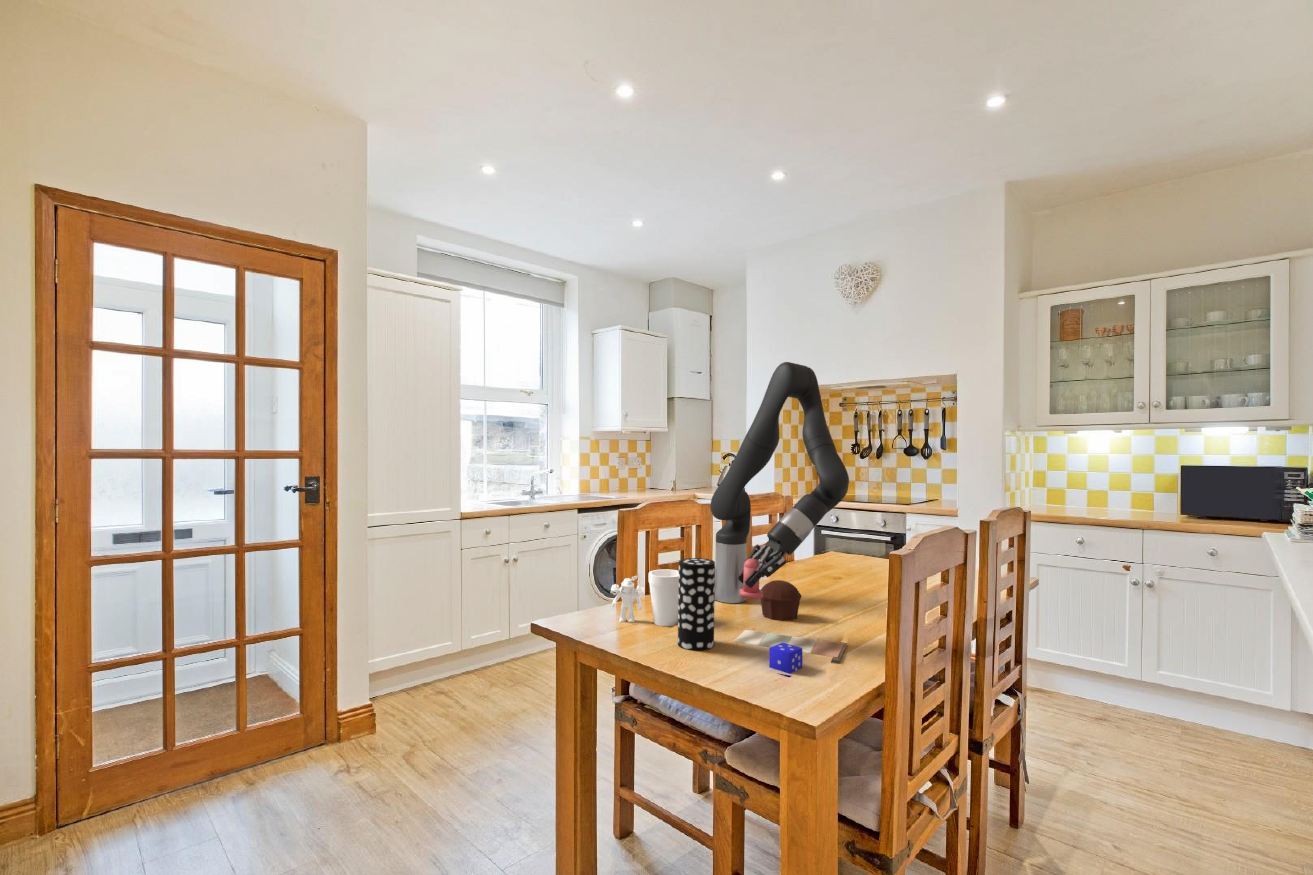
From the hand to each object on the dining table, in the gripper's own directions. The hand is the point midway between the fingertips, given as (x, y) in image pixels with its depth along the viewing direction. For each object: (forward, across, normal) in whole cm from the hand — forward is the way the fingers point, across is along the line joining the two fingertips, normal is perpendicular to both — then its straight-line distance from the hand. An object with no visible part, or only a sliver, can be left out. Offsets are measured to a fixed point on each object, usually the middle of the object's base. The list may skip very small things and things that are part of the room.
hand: (743, 582), depth 151 cm
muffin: (-2, -14, +22) cm, 27 cm away
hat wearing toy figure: (+27, -22, -6) cm, 35 cm away
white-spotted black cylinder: (+19, +2, +1) cm, 19 cm away
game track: (+3, +6, +16) cm, 18 cm away
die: (+9, +20, +10) cm, 25 cm away
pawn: (+1, 0, +4) cm, 4 cm away
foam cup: (+20, -18, 0) cm, 27 cm away
